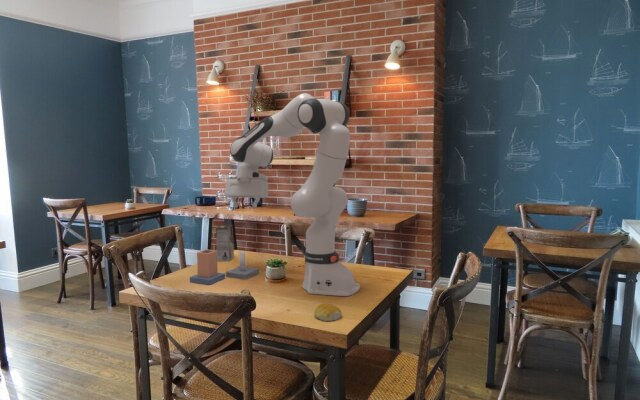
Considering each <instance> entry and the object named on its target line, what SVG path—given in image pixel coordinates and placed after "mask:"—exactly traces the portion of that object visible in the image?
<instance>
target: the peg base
mask: <svg viewBox="0 0 640 400" xmlns="http://www.w3.org/2000/svg"><path fill="white" fill-rule="evenodd" d="M224 279H226V273H224V272H218V274H217V275H215V276H213V277H210V278H205V277H199V276H198V273H197V274H194V275H192V276H190V277H189V282H190V283H193V284H194V283H195V284H199V283H200V284H201V285H206V286H207V285H208V286H211V285H213V284H215V283H218V282H220V281H222V280H224Z"/></svg>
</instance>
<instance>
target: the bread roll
mask: <svg viewBox="0 0 640 400" xmlns="http://www.w3.org/2000/svg"><path fill="white" fill-rule="evenodd" d="M342 313H343V312H342V310H341V309H340V308H339V307H337V306H336V305H332V304H331V303H326V302H325V303H321V304H320V303H319V304H318V305H317V306H316V307H315V308H314V312H313V314H314V315H313V316H314V317H315V319H319V320H320V321H322V320H323V321H322V322H334V321H337V320H339V319H340V318H341V317H342ZM333 320H334V321H333Z"/></svg>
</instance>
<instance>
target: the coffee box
mask: <svg viewBox="0 0 640 400" xmlns="http://www.w3.org/2000/svg"><path fill="white" fill-rule="evenodd" d="M215 235H216V236H215V239H216V251H217V262H230V261H232V259H233V258H234V257H235V251H234V250H235V249H234V247H235V245H234V225H233V224H230V225H229V224H221V225H219V226H217V227H216V228H215Z"/></svg>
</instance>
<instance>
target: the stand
mask: <svg viewBox="0 0 640 400" xmlns="http://www.w3.org/2000/svg"><path fill="white" fill-rule="evenodd" d="M238 256H239V266H237V267H235V268H231V269H229V270H227V271H225V278H226V277H227V278H233V279H240V280H248V279H250V278H252V277H254V276H257V275H259V274H260V268H257V267H256V268H255V267H248V266H246V251H243V250H241V251H239V254H238Z"/></svg>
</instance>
